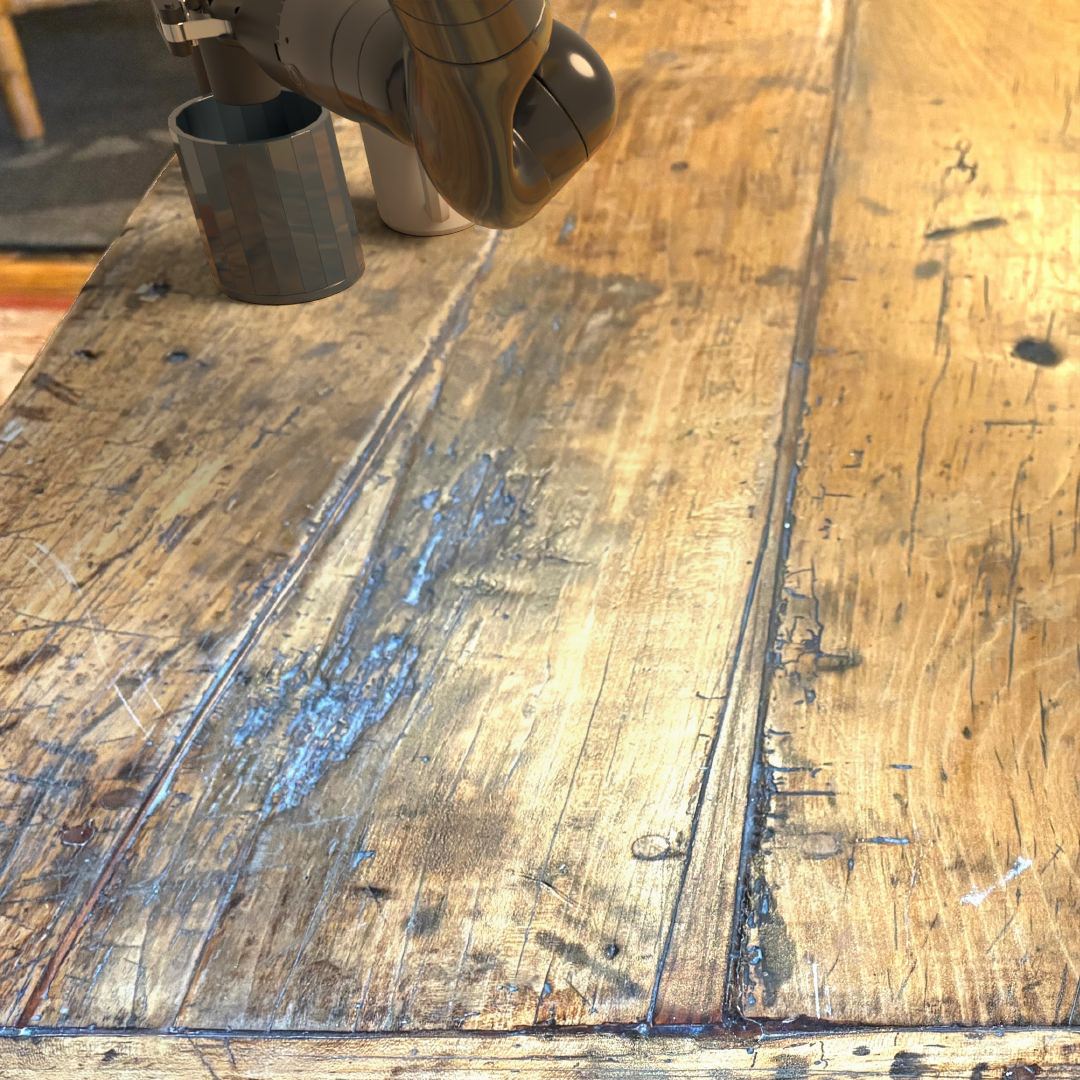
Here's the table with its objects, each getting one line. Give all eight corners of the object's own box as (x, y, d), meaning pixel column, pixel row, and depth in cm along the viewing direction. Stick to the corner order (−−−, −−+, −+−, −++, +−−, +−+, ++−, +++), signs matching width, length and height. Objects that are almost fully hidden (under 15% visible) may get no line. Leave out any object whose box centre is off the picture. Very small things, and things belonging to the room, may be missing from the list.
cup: (476, 188, 129) (452, 56, 123) (503, 246, 123) (479, 109, 117) (373, 201, 127) (343, 67, 121) (395, 260, 121) (365, 122, 115)
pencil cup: (196, 303, 116) (147, 142, 109) (238, 239, 123) (194, 84, 115) (346, 306, 116) (307, 146, 109) (380, 242, 123) (345, 87, 116)
